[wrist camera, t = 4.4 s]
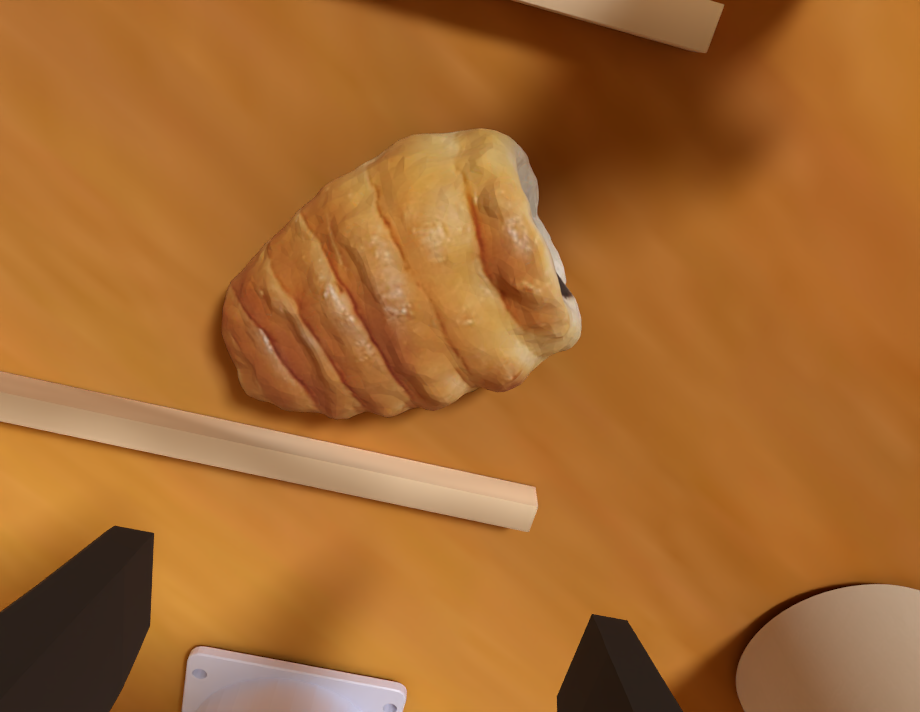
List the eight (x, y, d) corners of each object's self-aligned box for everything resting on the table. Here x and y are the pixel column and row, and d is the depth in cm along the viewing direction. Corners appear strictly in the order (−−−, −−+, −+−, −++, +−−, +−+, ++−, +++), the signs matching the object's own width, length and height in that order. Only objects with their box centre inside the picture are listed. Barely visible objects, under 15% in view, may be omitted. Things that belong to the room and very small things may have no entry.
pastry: (307, 434, 21) (275, 512, 18) (183, 240, 19) (118, 287, 15) (593, 319, 20) (619, 380, 16) (499, 87, 17) (506, 101, 14)
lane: (526, 511, 22) (530, 545, 21) (-231, 350, 20) (-285, 375, 19) (748, -99, 15) (777, -113, 14) (-394, -449, 13) (-503, -509, 11)
